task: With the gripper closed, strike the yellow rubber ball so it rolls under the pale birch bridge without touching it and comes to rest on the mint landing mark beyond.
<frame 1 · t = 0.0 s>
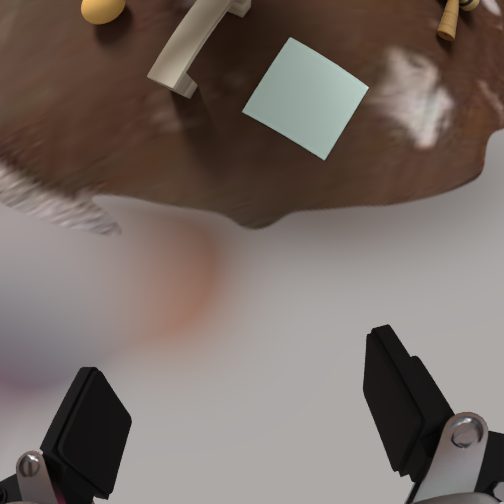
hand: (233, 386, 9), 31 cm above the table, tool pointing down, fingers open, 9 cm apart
kendama: (446, 1, 27), on the table
bridge: (210, 45, 31), on the table
landing mark: (308, 96, 34), on the table
ball: (103, 4, 25), on the table
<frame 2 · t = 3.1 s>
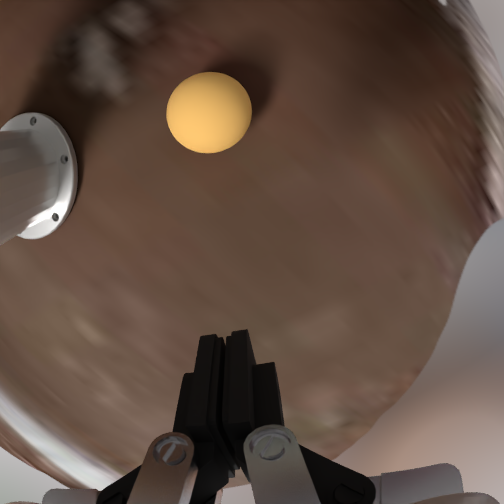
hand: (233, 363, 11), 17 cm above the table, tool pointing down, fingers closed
ball: (209, 112, 20), on the table
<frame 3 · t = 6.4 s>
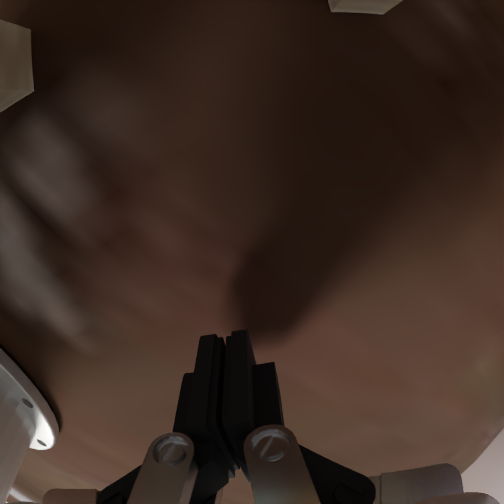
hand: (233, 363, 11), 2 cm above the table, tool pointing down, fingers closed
bridge: (160, 0, 7), on the table
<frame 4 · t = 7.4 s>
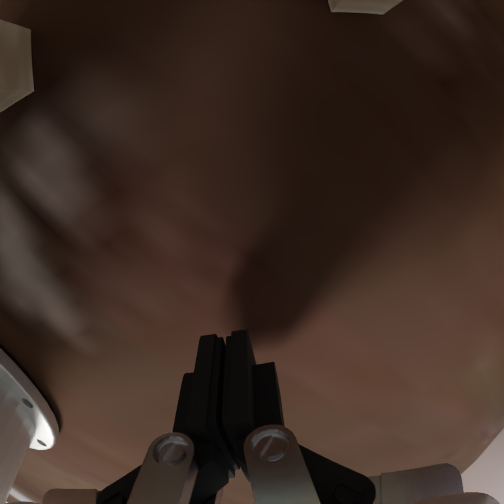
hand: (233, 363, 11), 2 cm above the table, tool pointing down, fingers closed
bridge: (160, 0, 7), on the table
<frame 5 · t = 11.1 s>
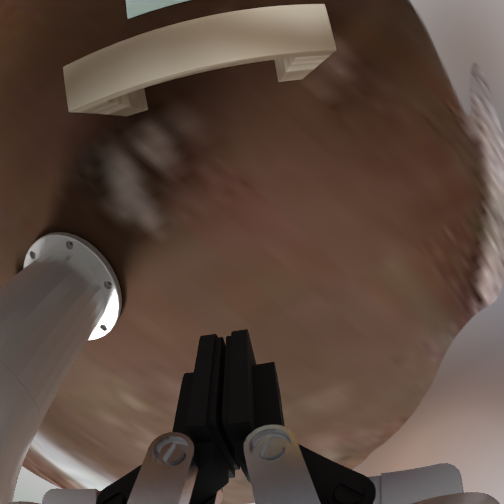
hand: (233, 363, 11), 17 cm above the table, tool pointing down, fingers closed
bridge: (208, 76, 22), on the table
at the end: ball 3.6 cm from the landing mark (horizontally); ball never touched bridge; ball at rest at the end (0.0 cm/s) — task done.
